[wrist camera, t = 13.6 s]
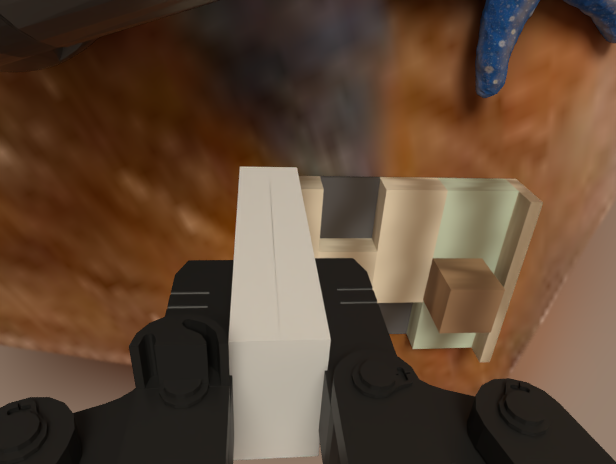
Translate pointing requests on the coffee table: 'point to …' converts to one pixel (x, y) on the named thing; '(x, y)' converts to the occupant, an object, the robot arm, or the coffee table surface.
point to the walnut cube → (462, 295)
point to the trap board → (422, 240)
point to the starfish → (507, 27)
